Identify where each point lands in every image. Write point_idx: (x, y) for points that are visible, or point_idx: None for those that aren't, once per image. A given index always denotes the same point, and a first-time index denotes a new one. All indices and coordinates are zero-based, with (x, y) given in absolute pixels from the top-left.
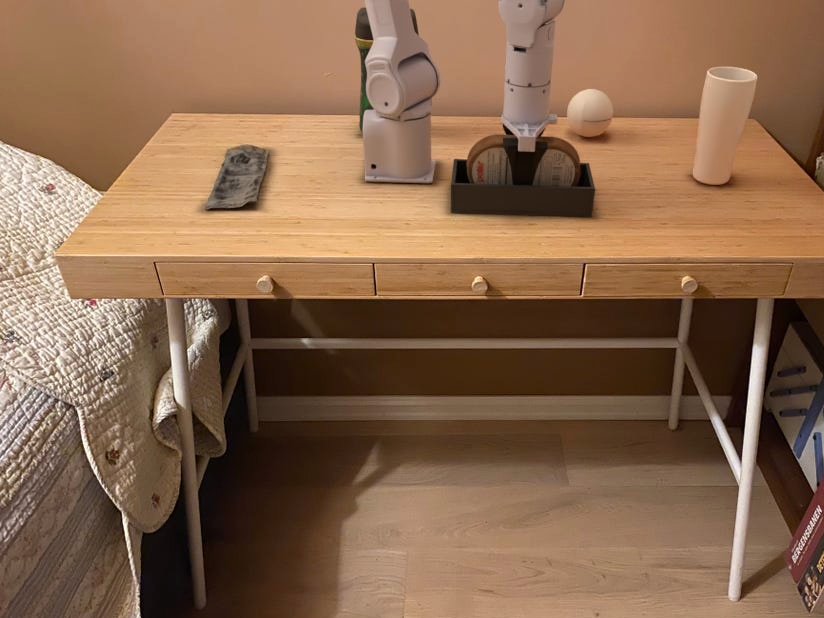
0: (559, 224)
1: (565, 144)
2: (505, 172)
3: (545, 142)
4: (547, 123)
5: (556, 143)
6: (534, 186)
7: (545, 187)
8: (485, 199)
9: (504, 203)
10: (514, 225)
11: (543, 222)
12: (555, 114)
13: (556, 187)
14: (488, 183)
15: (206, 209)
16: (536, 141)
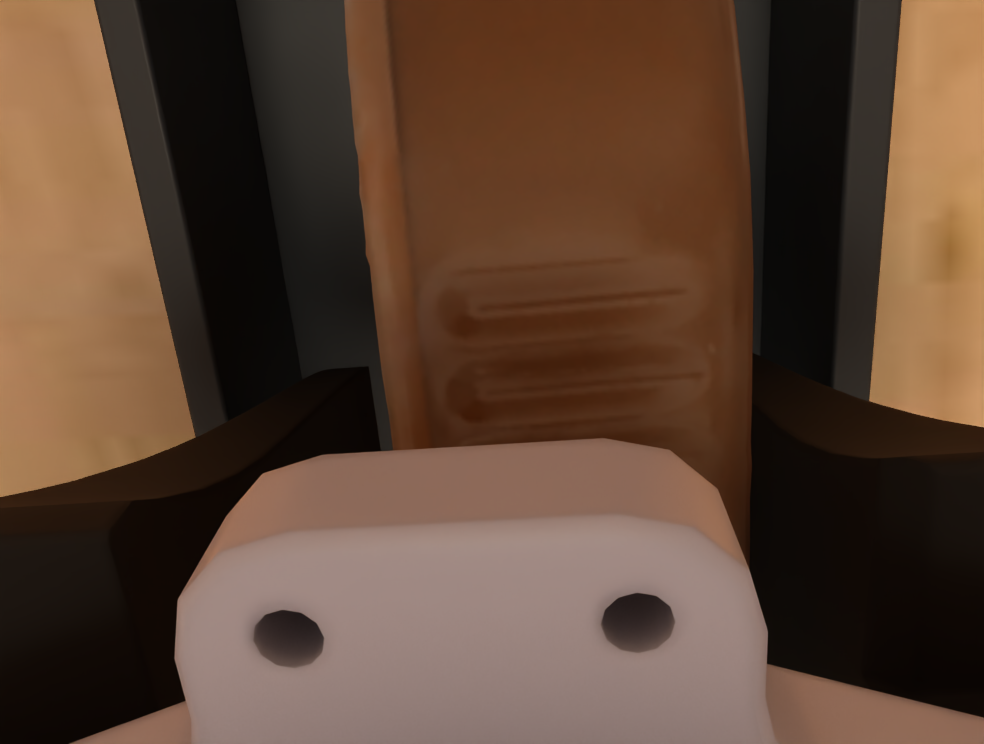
0: (955, 14)
1: (512, 41)
2: None
3: (974, 501)
4: (841, 724)
5: (639, 240)
6: (861, 341)
7: (882, 224)
8: None
9: None
10: (958, 379)
11: (911, 158)
12: (244, 591)
13: (891, 96)
14: None
15: None
16: (915, 652)
